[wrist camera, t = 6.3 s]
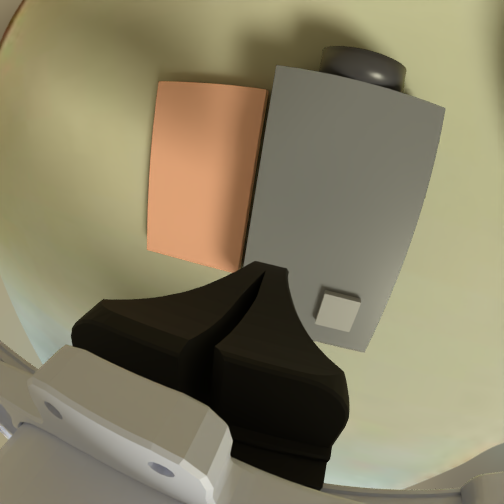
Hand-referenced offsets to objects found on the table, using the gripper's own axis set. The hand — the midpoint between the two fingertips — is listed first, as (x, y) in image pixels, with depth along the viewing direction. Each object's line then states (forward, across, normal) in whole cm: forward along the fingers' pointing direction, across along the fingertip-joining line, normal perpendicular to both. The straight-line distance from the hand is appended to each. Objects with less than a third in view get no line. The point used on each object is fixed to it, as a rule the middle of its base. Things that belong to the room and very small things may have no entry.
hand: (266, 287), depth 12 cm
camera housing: (+9, -2, -2) cm, 9 cm away
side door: (+9, +3, -2) cm, 9 cm away
